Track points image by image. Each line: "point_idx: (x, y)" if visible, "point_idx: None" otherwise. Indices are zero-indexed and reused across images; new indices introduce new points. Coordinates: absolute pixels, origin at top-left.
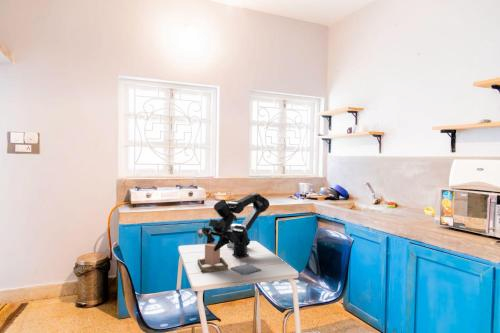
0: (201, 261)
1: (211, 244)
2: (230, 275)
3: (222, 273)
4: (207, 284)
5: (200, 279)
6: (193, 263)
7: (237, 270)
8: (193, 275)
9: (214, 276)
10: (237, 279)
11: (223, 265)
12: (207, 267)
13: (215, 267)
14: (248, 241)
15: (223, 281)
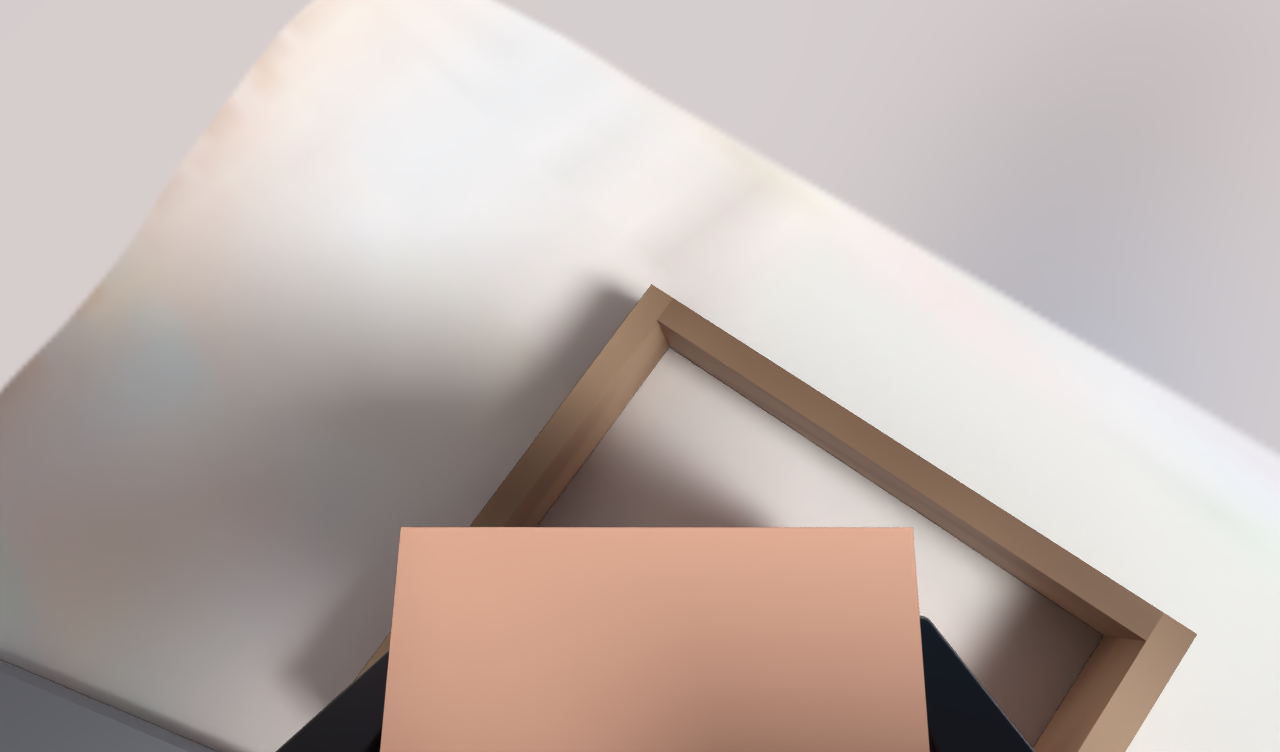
0: (1090, 693)
1: (645, 736)
2: (168, 509)
3: (326, 498)
4: (276, 59)
5: (462, 103)
6: (1234, 580)
7: (120, 739)
8: (664, 133)
9: (360, 314)
10: (9, 444)
11: (368, 667)
12: (581, 380)
13: (486, 520)
14: None
15: (148, 260)
